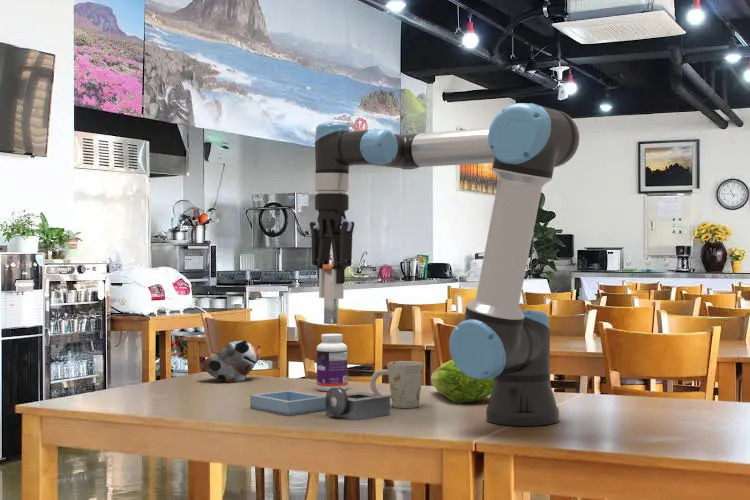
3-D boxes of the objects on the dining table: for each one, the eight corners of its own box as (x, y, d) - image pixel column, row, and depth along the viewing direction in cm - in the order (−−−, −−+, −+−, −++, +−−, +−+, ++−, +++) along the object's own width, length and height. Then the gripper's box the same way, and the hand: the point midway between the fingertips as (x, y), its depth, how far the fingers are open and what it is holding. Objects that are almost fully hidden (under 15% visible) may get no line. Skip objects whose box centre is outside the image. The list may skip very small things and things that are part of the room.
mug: (420, 409, 223) (420, 365, 223) (366, 408, 226) (365, 364, 226) (426, 403, 232) (425, 361, 232) (373, 402, 234) (373, 360, 234)
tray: (327, 410, 224) (327, 396, 224) (288, 415, 217) (287, 402, 217) (289, 403, 235) (289, 390, 235) (250, 408, 228) (250, 395, 228)
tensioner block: (390, 414, 217) (389, 385, 217) (347, 421, 209) (347, 390, 209) (361, 409, 224) (360, 380, 224) (319, 415, 217) (318, 385, 217)
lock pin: (343, 323, 220) (344, 264, 220) (329, 324, 218) (329, 264, 218) (332, 322, 224) (333, 263, 223) (318, 323, 221) (319, 264, 221)
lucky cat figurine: (229, 375, 289) (252, 334, 288) (253, 395, 281) (276, 352, 280) (191, 365, 278) (215, 322, 277) (215, 386, 270) (239, 341, 269)
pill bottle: (313, 388, 260) (312, 333, 260) (343, 387, 262) (342, 332, 262) (321, 392, 252) (320, 336, 252) (351, 391, 254) (350, 335, 254)
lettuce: (466, 369, 255) (428, 342, 251) (513, 374, 232) (473, 344, 229) (442, 409, 252) (404, 382, 248) (488, 418, 229) (447, 389, 226)
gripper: (369, 192, 216) (368, 299, 217) (322, 194, 229) (321, 295, 230) (342, 191, 211) (341, 300, 212) (295, 193, 225) (295, 296, 225)
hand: (331, 297), depth 221 cm, fingers closed on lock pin, 4 cm apart
